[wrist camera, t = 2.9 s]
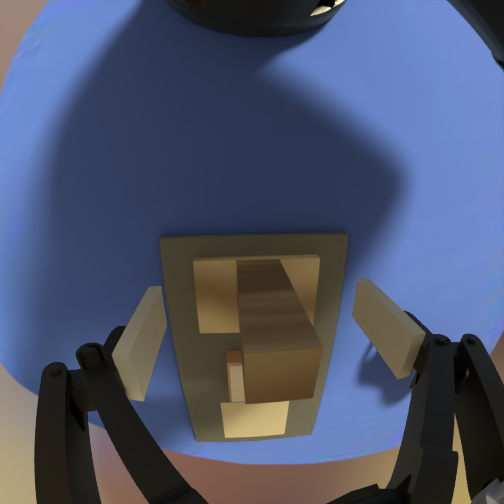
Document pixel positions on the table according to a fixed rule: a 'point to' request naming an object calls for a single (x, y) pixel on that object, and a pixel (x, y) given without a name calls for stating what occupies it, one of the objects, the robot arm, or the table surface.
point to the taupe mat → (217, 344)
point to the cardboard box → (265, 319)
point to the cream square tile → (235, 376)
